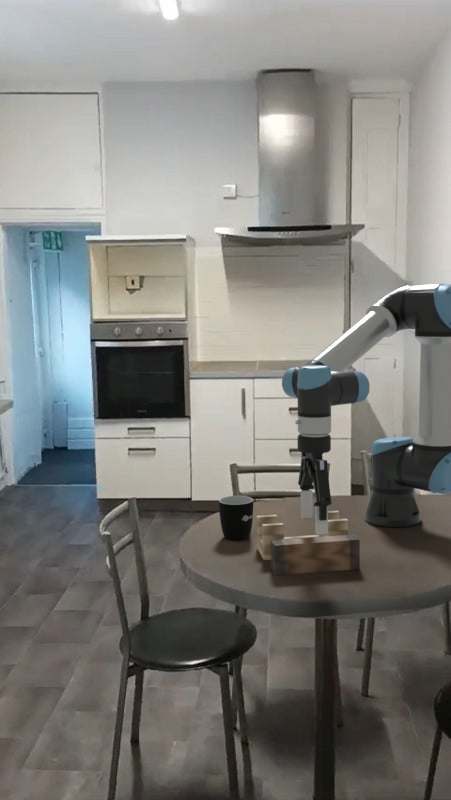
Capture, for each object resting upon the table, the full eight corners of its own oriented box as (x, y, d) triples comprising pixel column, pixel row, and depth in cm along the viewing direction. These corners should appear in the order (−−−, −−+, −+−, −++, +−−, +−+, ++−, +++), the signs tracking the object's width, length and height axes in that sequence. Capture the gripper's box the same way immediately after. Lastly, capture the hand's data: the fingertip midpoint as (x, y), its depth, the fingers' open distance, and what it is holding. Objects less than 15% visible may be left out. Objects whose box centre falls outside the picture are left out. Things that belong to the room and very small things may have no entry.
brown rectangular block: (354, 563, 190) (354, 534, 190) (359, 568, 187) (359, 539, 186) (271, 569, 188) (270, 540, 187) (274, 575, 184) (274, 545, 183)
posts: (338, 542, 206) (337, 510, 204) (348, 553, 197) (348, 520, 196) (257, 548, 203) (256, 515, 202) (263, 560, 194) (263, 525, 193)
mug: (243, 544, 206) (242, 506, 205) (213, 539, 211) (212, 502, 210) (265, 531, 217) (264, 495, 215) (236, 527, 221) (235, 491, 220)
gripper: (285, 426, 194) (285, 511, 197) (311, 444, 170) (311, 542, 173) (316, 425, 196) (315, 510, 198) (346, 443, 171) (345, 540, 174)
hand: (313, 525), depth 185 cm, fingers open, 13 cm apart
